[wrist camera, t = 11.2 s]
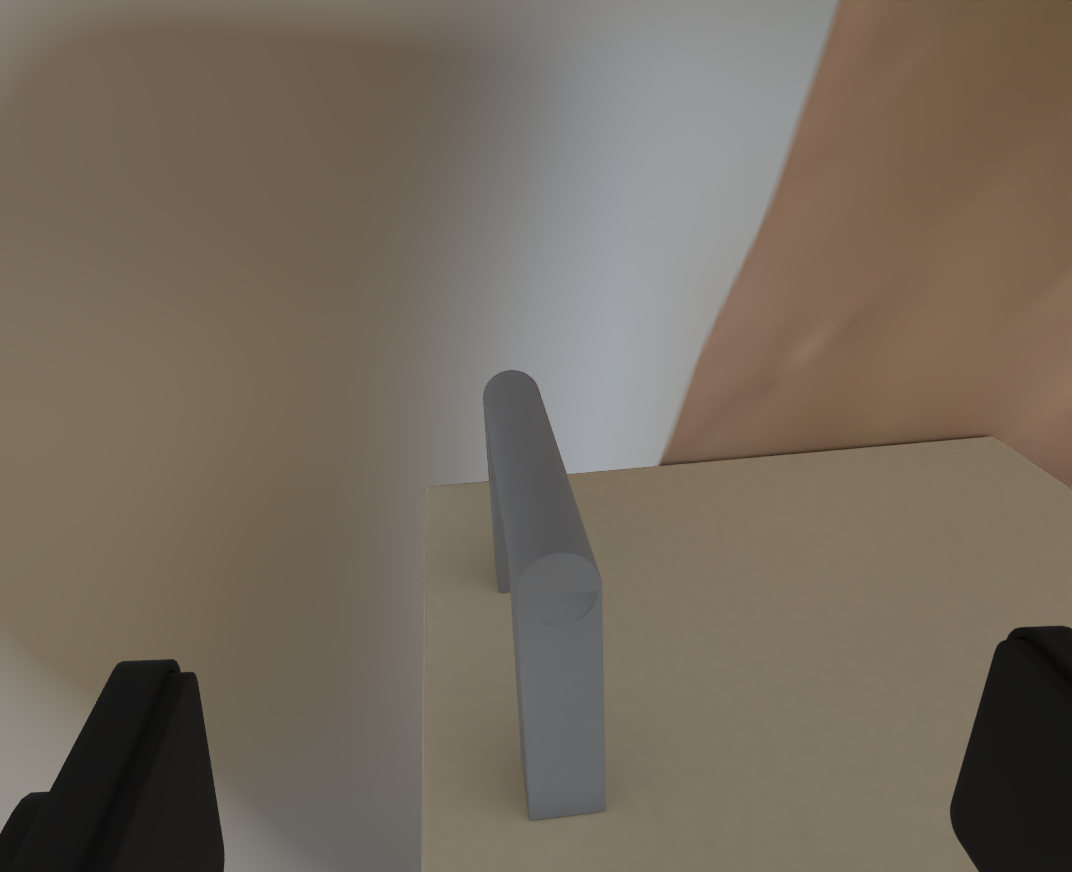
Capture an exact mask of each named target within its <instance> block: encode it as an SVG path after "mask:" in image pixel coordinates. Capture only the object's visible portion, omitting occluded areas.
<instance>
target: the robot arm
mask: <svg viewBox="0 0 1072 872" xmlns="http://www.w3.org/2000/svg"><path fill="white" fill-rule="evenodd" d="M950 819H951V824H952V827H953V830H954V833H955V835H956V837H957V839H958V840H959V842H960V844H961V845H962V847H963V848H964V850H965V851H966V853H967V854H968V856H969V857H970V859H971V861H972V862H973V864H974V865H975V867H976V868H977V870H978V871H979V872H1072V629H1071V628H1070V627H1066V626H1036V627H1019V628H1015V629H1013V630H1012V631H1011V632H1010V633H1009V635H1008V637H1007V639H1006V640H1004V641H1001V642H1000V643H999V644H998V645H997V647H996V649H995V652H994V655H993V659H992V662H991V665H990V669H989V672H988V676H987V679H986V683H985V686H984V690H983V693H982V697H981V700H980V704H979V707H978V711H977V714H976V717H975V721H974V724H973V728H972V731H971V735H970V738H969V742H968V745H967V749H966V752H965V756H964V759H963V763H962V766H961V770H960V773H959V776H958V780H957V783H956V787H955V790H954V794H953V797H952V801H951V805H950ZM223 871H224V844H223V838H222V832H221V826H220V819H219V813H218V807H217V800H216V793H215V787H214V781H213V775H212V769H211V762H210V756H209V750H208V743H207V737H206V730H205V725H204V718H203V711H202V705H201V699H200V692H199V686H198V681H197V677H196V675H195V673H193V672H184V673H183V672H181V671H180V668H179V665H178V663H177V661H175V660H173V659H171V660H170V659H168V660H141V661H122V662H120V663H118V664H117V665H116V667H115V668H114V670H113V671H112V673H111V675H110V677H109V679H108V681H107V683H106V685H105V687H104V689H103V690H102V692H101V694H100V696H99V698H98V700H97V702H96V704H95V706H94V708H93V710H92V712H91V713H90V715H89V717H88V719H87V721H86V723H85V725H84V727H83V729H82V731H81V733H80V734H79V736H78V738H77V740H76V742H75V744H74V746H73V748H72V750H71V751H70V754H69V755H68V757H67V759H66V761H65V763H64V765H63V767H62V769H61V771H60V773H59V774H58V777H57V778H56V780H55V782H54V784H53V786H52V788H51V790H50V791H49V792H35V793H30V794H28V795H27V796H26V797H24V798H23V799H21V801H20V802H19V804H18V805H17V806H16V808H15V809H14V811H13V812H12V814H11V816H10V817H9V819H8V821H7V823H6V824H5V826H4V828H3V830H2V832H1V834H0V872H223Z"/></svg>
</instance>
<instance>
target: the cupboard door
mask: <svg viewBox="0 0 1072 872" xmlns="http://www.w3.org/2000/svg"><path fill="white" fill-rule="evenodd" d="M483 403H484V417H485V430H486V445H487V459H488V472H489V481H487V482H476V483H464V484H454V485H443V486H431V487H425V488H424V593H423V594H424V597H423V600H424V601H423V734H422V735H423V736H422V737H423V740H422V743H423V744H422V747H423V748H422V872H979V871H978V870H977V868H976V867H975V865H974V864H973V862H972V861H971V859H970V857H969V856H968V854H967V853H966V851H965V850H964V848H963V847H962V845H961V844H960V842H959V840H958V839H957V837H956V835H955V833H954V830H953V827H952V824H951V819H950V805H951V801H952V797H953V794H954V790H955V787H956V783H957V780H958V776H959V773H960V770H961V766H962V763H963V759H964V756H965V752H966V749H967V745H968V742H969V738H970V735H971V731H972V728H973V724H974V721H975V717H976V714H977V711H978V707H979V704H980V700H981V697H982V693H983V690H984V686H985V683H986V679H987V676H988V672H989V669H990V665H991V662H992V659H993V655H994V652H995V649H996V647H997V645H998V644H999V643H1000V642H1001V641H1004V640H1006V639H1007V637H1008V635H1009V633H1010V632H1011V631H1012V630H1013V629H1015V628H1019V627H1036V626H1066V627H1070V628H1071V629H1072V489H1071V488H1069V487H1068V486H1067V485H1065V484H1064V483H1062V482H1061V481H1059V480H1058V479H1056V478H1055V477H1053V476H1052V475H1050V474H1049V473H1047V472H1046V471H1044V470H1043V469H1041V468H1040V467H1038V466H1037V465H1036V464H1034V463H1033V462H1031V461H1030V460H1028V459H1027V458H1025V457H1024V456H1022V455H1021V454H1019V453H1018V452H1016V451H1015V450H1013V449H1012V448H1010V447H1009V446H1007V445H1006V444H1004V443H1003V442H1002V441H1000V440H999V439H997V438H996V437H994V436H992V437H980V438H969V439H958V440H947V441H935V442H924V443H913V444H902V445H891V446H879V447H868V448H857V449H846V450H834V451H823V452H812V453H801V454H790V455H778V456H767V457H756V458H745V459H733V460H722V461H711V462H700V463H689V464H677V465H666V466H655V467H644V468H633V469H622V470H610V471H599V472H588V473H576V474H566V471H565V468H564V465H563V462H562V459H561V456H560V452H559V449H558V446H557V443H556V440H555V437H554V434H553V431H552V428H551V425H550V422H549V420H548V416H547V413H546V410H545V407H544V404H543V401H542V398H541V395H540V392H539V389H538V386H537V384H536V383H535V381H534V380H533V379H532V378H531V377H530V376H529V375H527V374H525V373H523V372H520V371H515V370H509V371H504V372H501V373H499V374H497V375H496V376H494V377H493V378H492V379H491V380H490V381H489V382H488V383H487V385H486V387H485V390H484V394H483Z"/></svg>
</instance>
